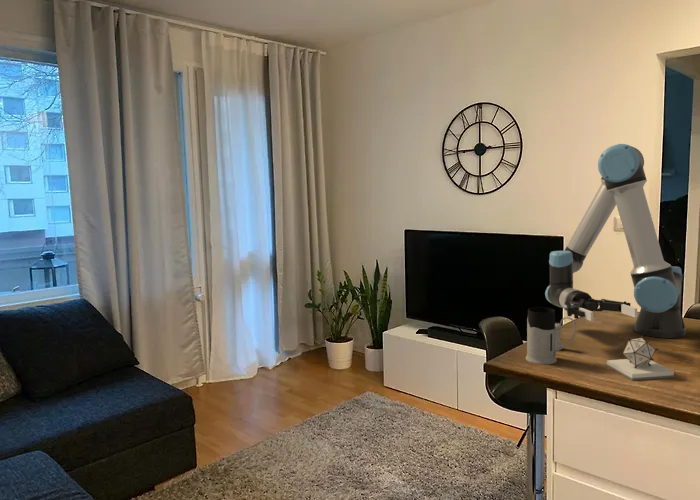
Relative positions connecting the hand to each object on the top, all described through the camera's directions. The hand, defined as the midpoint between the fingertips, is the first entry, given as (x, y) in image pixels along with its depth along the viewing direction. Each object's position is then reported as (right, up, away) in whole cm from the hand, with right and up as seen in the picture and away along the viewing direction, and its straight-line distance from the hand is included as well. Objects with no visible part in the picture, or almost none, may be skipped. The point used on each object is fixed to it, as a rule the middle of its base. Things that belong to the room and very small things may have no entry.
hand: (614, 314), depth 159 cm
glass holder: (-18, -14, +1) cm, 23 cm away
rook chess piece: (-12, -12, +13) cm, 22 cm away
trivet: (+2, -14, -10) cm, 17 cm away
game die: (+2, -13, -10) cm, 17 cm away
